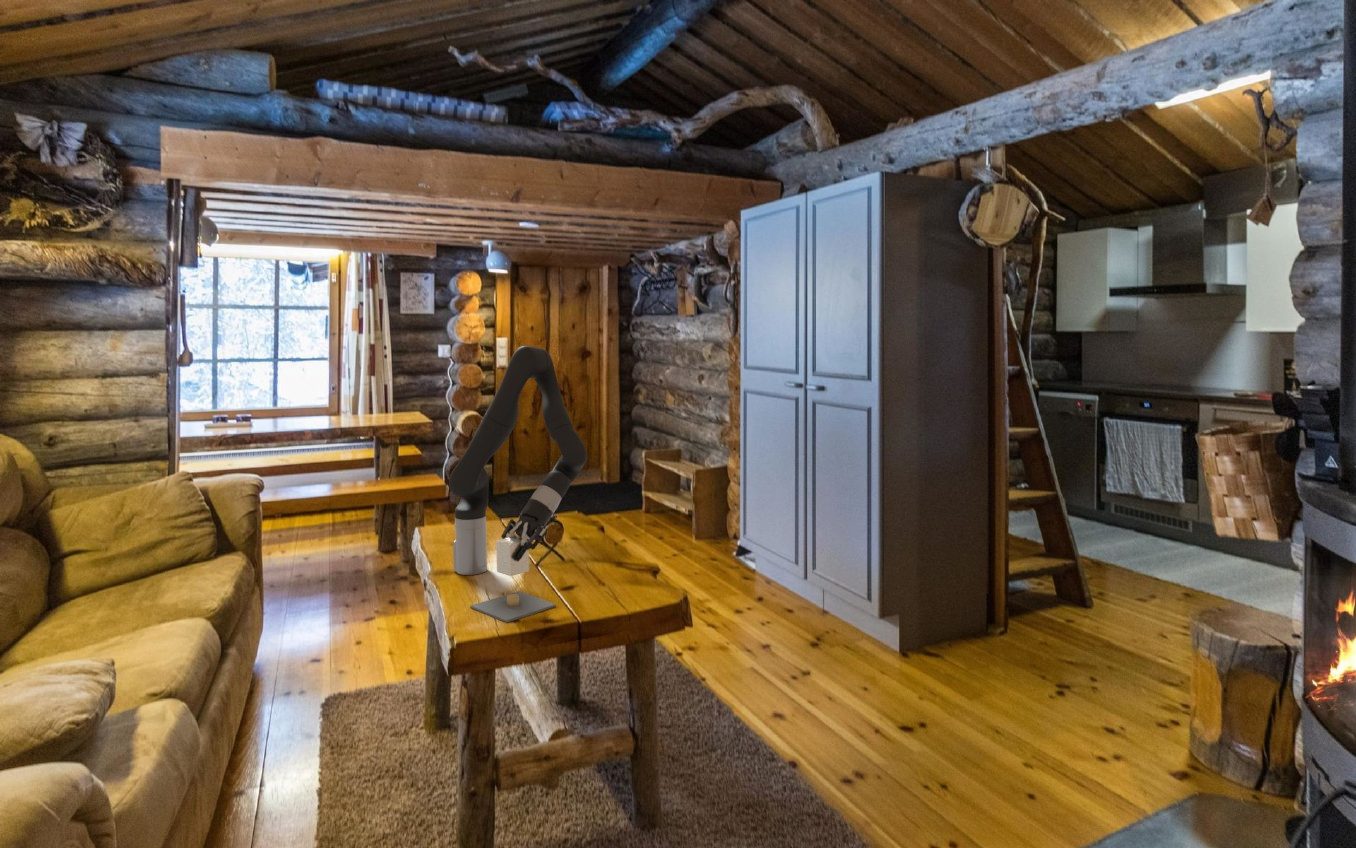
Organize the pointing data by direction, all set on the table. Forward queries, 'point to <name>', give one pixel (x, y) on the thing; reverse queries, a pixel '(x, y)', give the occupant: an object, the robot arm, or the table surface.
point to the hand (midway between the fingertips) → (507, 557)
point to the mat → (512, 611)
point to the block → (505, 560)
